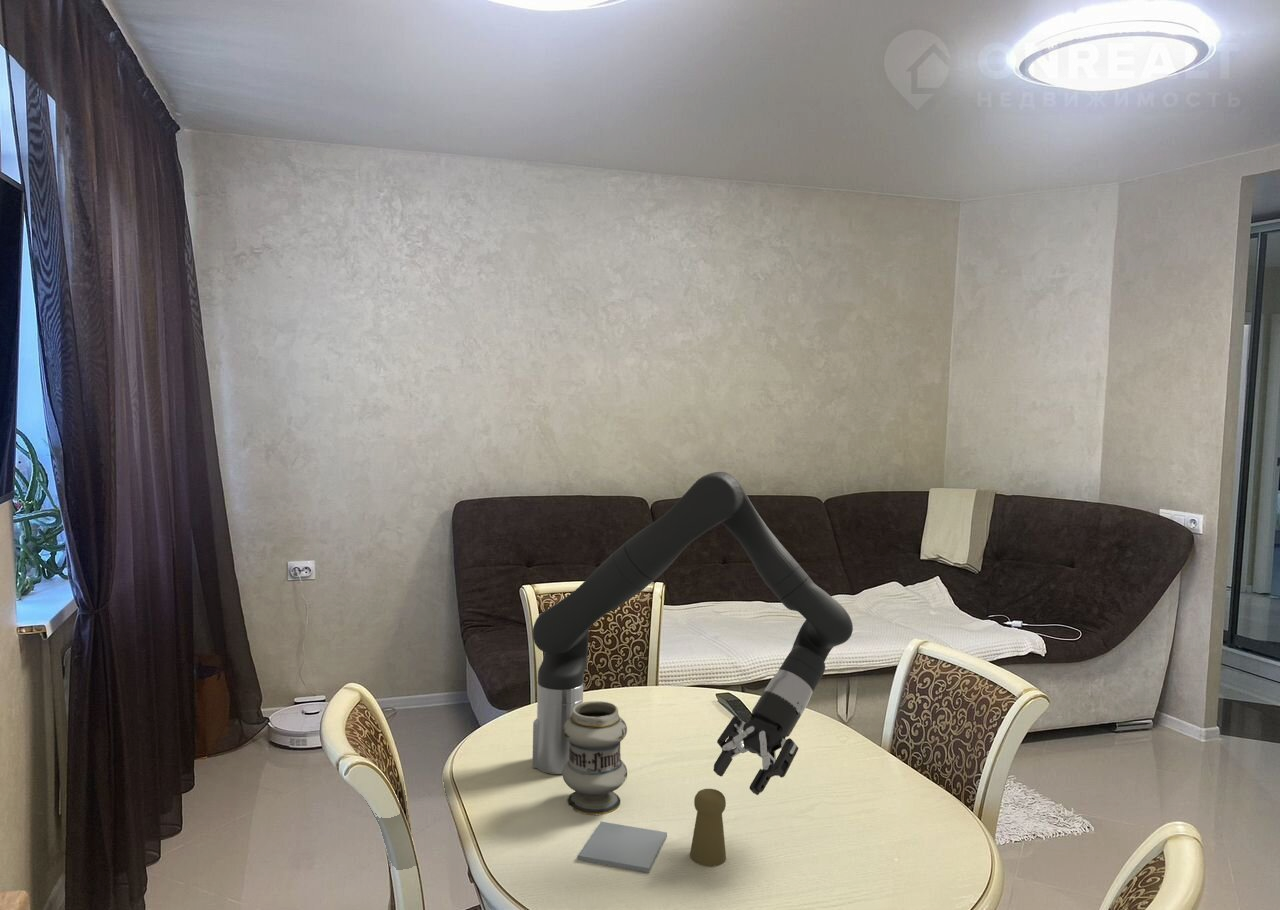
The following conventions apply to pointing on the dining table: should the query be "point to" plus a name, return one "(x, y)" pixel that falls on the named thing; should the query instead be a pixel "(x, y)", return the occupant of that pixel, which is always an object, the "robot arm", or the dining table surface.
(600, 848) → the slate tile
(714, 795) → the brown pawn
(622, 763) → the apothecary jar
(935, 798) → the dining table surface
